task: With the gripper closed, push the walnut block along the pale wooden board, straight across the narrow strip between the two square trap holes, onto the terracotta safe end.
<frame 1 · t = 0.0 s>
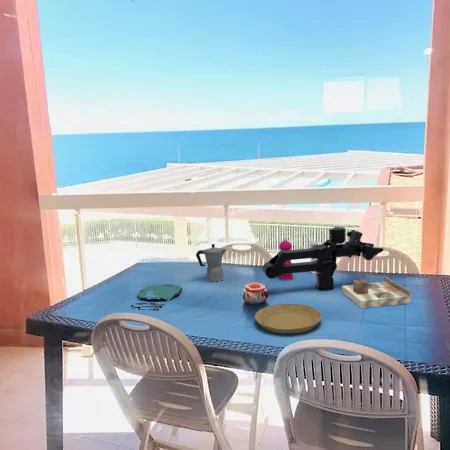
hand: (378, 247, 204), 17 cm above the table, tool horizontal, fingers open, 9 cm apart
plant saucer: (288, 323, 168), on the table
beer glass: (316, 272, 229), on the table
walnut block: (360, 292, 187), point 3 cm above the table, touching trap board
pepper mill: (286, 278, 222), on the table
trap board: (374, 297, 188), on the table
coffeepot: (213, 280, 227), on the table
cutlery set: (155, 299, 204), on the table
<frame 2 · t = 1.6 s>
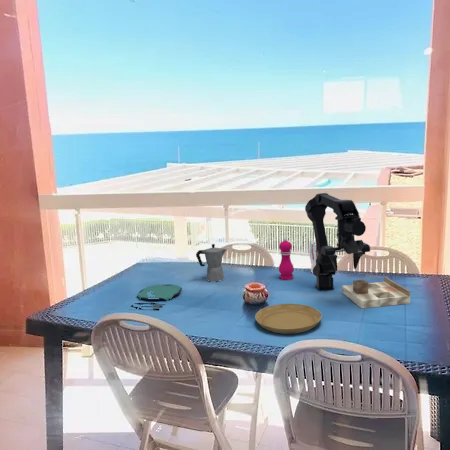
hand: (345, 269, 185), 13 cm above the table, tool pointing down, fingers open, 8 cm apart
nothing on the table moved.
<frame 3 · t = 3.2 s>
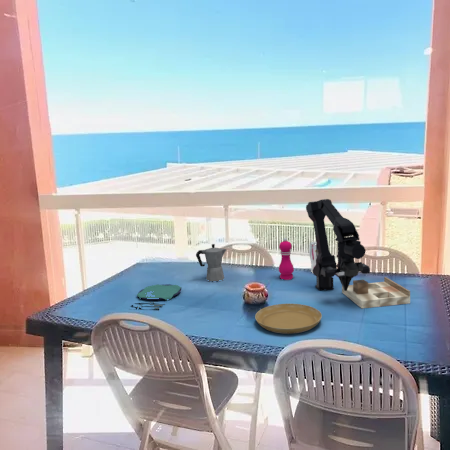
hand: (345, 290, 186), 4 cm above the table, tool pointing down, fingers closed
nothing on the table moved.
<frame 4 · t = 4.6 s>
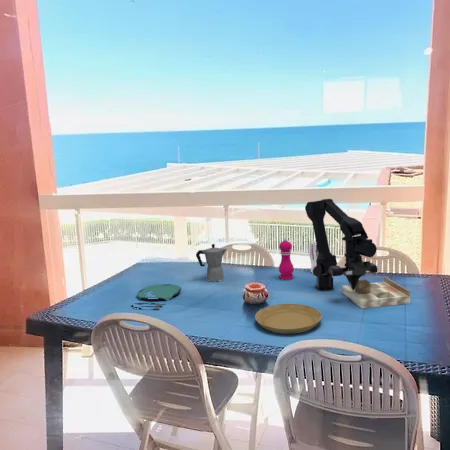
hand: (353, 289, 187), 4 cm above the table, tool pointing down, fingers closed
walnut block: (362, 291, 187), point 3 cm above the table, touching gripper, trap board
everything else where it was.
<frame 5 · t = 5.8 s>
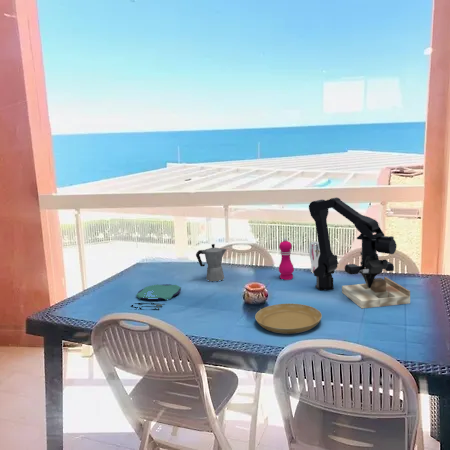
hand: (369, 287, 187), 4 cm above the table, tool pointing down, fingers closed
walnut block: (378, 290, 188), point 3 cm above the table, touching gripper
everything else where it was.
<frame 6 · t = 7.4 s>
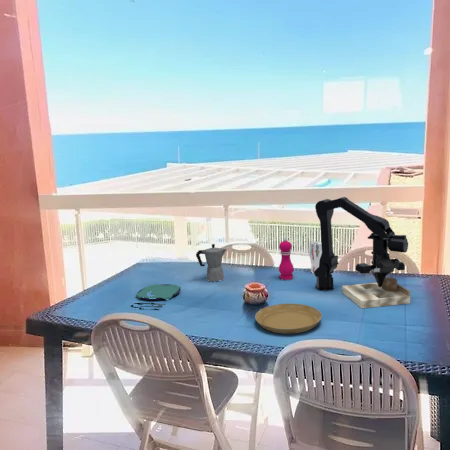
hand: (379, 287, 188), 4 cm above the table, tool pointing down, fingers closed
walnut block: (389, 289, 189), point 3 cm above the table, touching gripper, trap board
everything else where it was.
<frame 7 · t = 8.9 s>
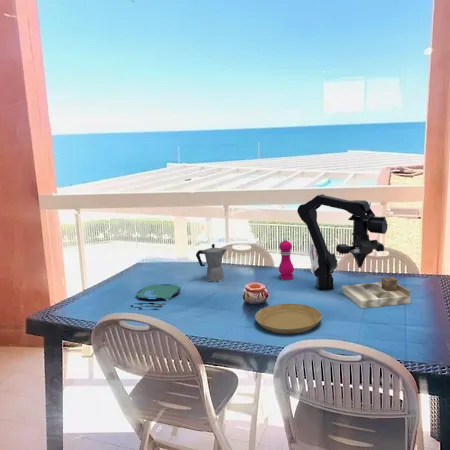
hand: (359, 267, 192), 12 cm above the table, tool pointing down, fingers closed
walnut block: (389, 289, 189), point 3 cm above the table, touching trap board
everything else where it was.
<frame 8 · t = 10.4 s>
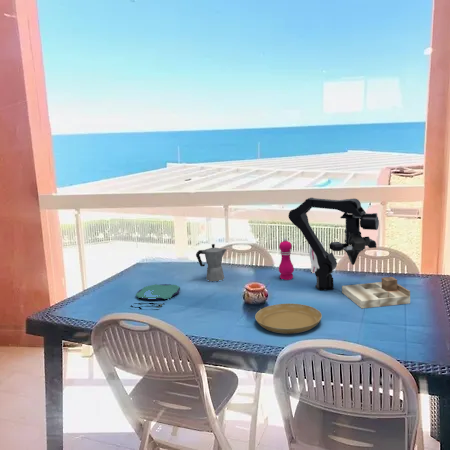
hand: (352, 264, 196), 12 cm above the table, tool pointing down, fingers closed
nothing on the table moved.
at the end: walnut block 0.4 cm from the target spot on the trap board, point 3.0 cm above the trap board's base; walnut block tilted 0°; walnut block moved 12.4 cm from its start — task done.
